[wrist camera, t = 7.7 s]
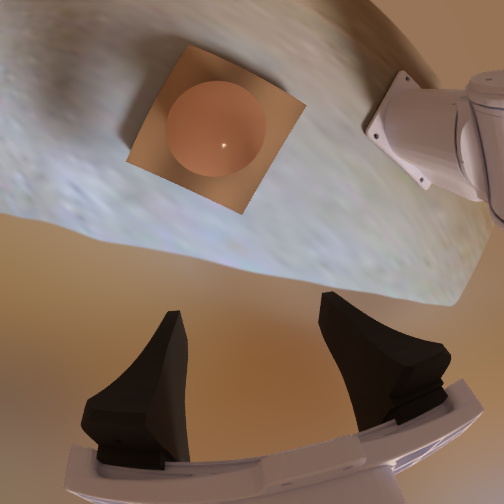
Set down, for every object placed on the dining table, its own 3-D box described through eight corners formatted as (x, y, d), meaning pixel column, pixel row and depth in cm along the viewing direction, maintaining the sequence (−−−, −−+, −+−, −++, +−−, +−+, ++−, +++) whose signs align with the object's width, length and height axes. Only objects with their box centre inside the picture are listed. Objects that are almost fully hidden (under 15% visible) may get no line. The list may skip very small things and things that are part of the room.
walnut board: (295, 107, 18) (306, 105, 16) (238, 204, 21) (242, 214, 19) (191, 53, 15) (188, 44, 13) (135, 156, 18) (126, 161, 16)
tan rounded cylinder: (262, 112, 16) (282, 106, 11) (232, 173, 18) (239, 191, 13) (198, 85, 15) (191, 67, 10) (168, 147, 16) (150, 156, 11)
